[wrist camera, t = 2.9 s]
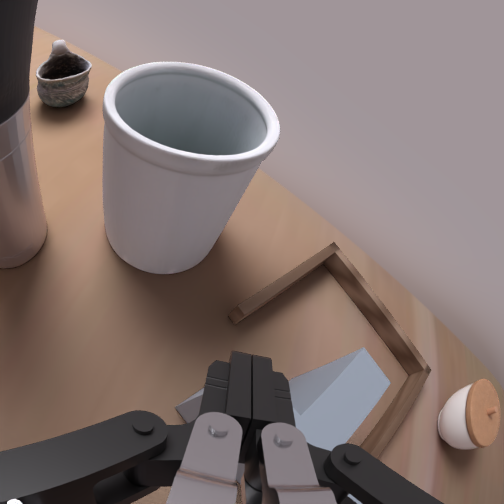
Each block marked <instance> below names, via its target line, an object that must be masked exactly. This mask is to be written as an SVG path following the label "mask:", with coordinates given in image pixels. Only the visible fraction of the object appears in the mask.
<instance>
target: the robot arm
mask: <svg viewBox="0 0 504 504" xmlns="http://www.w3.org/2000/svg"><path fill="white" fill-rule="evenodd" d="M37 3H38V0H0V268H13V267H17V266H19V265H22V264H24V263H25V262H27V261H29V260H30V259H31V258H32V257H33V256H35V255H36V253H37V252H38V251H39V250H40V248H41V246H42V245H43V243H44V241H45V237H46V234H47V221H46V217H45V212H44V207H43V202H42V197H41V191H40V186H39V180H38V174H37V168H36V161H35V154H34V146H33V137H32V127H31V116H30V98H29V72H30V62H31V53H32V43H33V31H34V21H35V15H36V9H37ZM238 463H243V464H245V471H244V474H243V476H242V478H241V493H242V504H357V503H356V502H355V501H353V500H352V499H351V498H350V497H348V495H349V494H351V495H352V496H353V497H354V498H356V499H357V500H358V501H360V502H361V503H362V504H444V503H442V502H440V501H439V500H437V499H436V498H434V497H432V496H431V495H429V494H428V493H426V492H425V491H423V490H422V489H420V488H418V487H417V486H415V485H414V484H412V483H411V482H409V481H408V480H406V479H405V478H403V477H402V476H401V475H399V474H398V473H396V472H395V471H393V470H392V469H390V468H389V467H388V466H386V465H385V464H383V463H382V462H380V461H379V460H378V459H376V458H375V457H374V456H372V455H371V454H369V453H368V452H367V451H365V450H364V449H362V448H361V447H359V446H357V445H354V444H340V445H337V446H336V447H334V448H333V450H332V451H329V450H326V449H322V448H319V447H316V446H313V445H311V444H309V443H308V442H306V438H305V436H304V434H303V433H302V432H301V431H300V430H299V429H297V428H296V424H295V418H294V412H293V406H292V400H291V393H290V387H289V382H288V380H287V379H286V378H285V376H284V375H283V374H282V373H280V372H274V371H273V370H272V360H271V358H267V357H262V356H257V355H252V356H251V354H246V353H242V352H237V351H232V352H231V356H230V360H229V363H227V362H222V361H218V360H216V361H215V362H214V363H212V364H211V365H210V366H209V369H208V373H207V378H206V382H205V387H204V391H203V396H202V401H201V406H200V410H199V415H198V416H197V418H196V419H195V420H193V421H192V422H190V423H187V424H183V425H166V424H165V422H164V421H163V420H162V419H161V418H160V417H159V416H157V415H155V414H153V413H151V412H147V411H131V412H128V413H125V414H123V415H120V416H117V417H115V418H112V419H109V420H106V421H103V422H101V423H98V424H95V425H92V426H89V427H86V428H83V429H80V430H77V431H74V432H71V433H68V434H64V435H61V436H58V437H54V438H51V439H48V440H44V441H41V442H37V443H33V444H30V445H26V446H22V447H18V448H14V449H10V450H6V451H2V452H0V504H130V503H132V502H134V501H136V500H138V499H140V498H142V497H144V496H146V495H148V494H150V493H152V492H154V491H156V490H157V489H158V488H159V487H160V486H172V487H171V490H170V493H169V496H168V499H167V502H166V504H235V503H236V496H237V484H236V483H235V480H236V473H237V466H238Z"/></svg>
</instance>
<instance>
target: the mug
mask: <svg viewBox="0 0 504 504" xmlns="http://www.w3.org/2000/svg"><path fill="white" fill-rule="evenodd" d="M91 67H92V65H91V63H90V62H89V61H87V60H86V59H84V58H83V57H81V56H79V55H77V54H74V53H72V52H71V51H69V49H68V48H67V46H66V43H65V41H64V40H57V41H55V42H53V44H52V52H51V54H50V57H49V59H48V60H47V61H45V62H44V63H42V64H41V65H40V66H39V68H38V69H37V71H36V77H37V79H38V86H37V91H38V95H39V97H40V99H41V100H42V101H43V102H44V103H45V104H47V105H49V106H54V107H64V106H68V105H71V104H73V103H75V102H77V101H78V100H79V99H81V98H82V97H83V96H84V94H85V93H86V90H87V88H88V82H89V78H88V74H89V72H90V69H91Z"/></svg>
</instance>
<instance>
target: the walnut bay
mask: <svg viewBox="0 0 504 504" xmlns="http://www.w3.org/2000/svg"><path fill="white" fill-rule="evenodd" d="M322 264H324V265H325V266H326V268H327V269H328V270H329V271H330V273H331V274H332V275H333V276H334V278H335V279H336V280H337V281H338V283H339V284H340V285H341V286H342V288H343V289H344V290H345V291H346V293H347V294H348V295H349V296H350V298H351V299H352V300H353V302H354V303H355V304H356V305H357V307H358V308H359V309H360V311H361V312H362V313H363V314H364V316H365V317H366V318H367V320H368V321H369V322H370V324H371V325H372V326H373V327H374V329H375V330H376V331H377V333H378V334H379V335H380V337H381V338H382V339H383V341H384V342H385V343H386V345H387V346H388V347H389V349H390V350H391V351H392V353H393V354H394V355H395V357H396V358H397V360H398V361H399V362H400V364H401V365H402V366H403V368H404V369H405V370H406V372H407V373H408V375H409V376H408V378H407V380H406V381H405V383H404V385H403V386H402V388H401V389H400V391H399V392H398V394H397V395H396V397H395V399H394V400H393V402H392V403H391V405H390V406H389V408H388V409H387V410H386V412H385V413H384V415H383V416H382V418H381V419H380V420H379V422H378V423H377V425H376V426H375V427H374V429H373V430H372V431H371V433H370V434H369V435H368V437H367V438H366V439H365V441H364V442H363V443H362V444H361V446H360V447H361V448H362V449H364V450H365V451H367V452H368V453H369V454H371V455H372V456H374V457H375V458H376V459H377V458H378V456H379V455H380V453H381V452H382V451H383V449H384V448H385V446H386V445H387V444H388V442H389V441H390V439H391V438H392V436H393V435H394V433H395V432H396V430H397V429H398V427H399V425H400V424H401V422H402V421H403V419H404V417H405V416H406V414H407V413H408V411H409V409H410V408H411V406H412V404H413V403H414V401H415V399H416V397H417V396H418V394H419V392H420V390H421V388H422V387H423V385H424V383H425V381H426V379H427V377H428V375H429V374H430V372H431V369H430V367H429V366H428V365H427V363H426V362H425V360H424V359H423V357H422V356H421V354H420V353H419V352H418V350H417V349H416V347H415V346H414V345H413V343H412V342H411V340H410V339H409V338H408V336H407V335H406V334H405V332H404V331H403V329H402V328H401V327H400V325H399V324H398V323H397V321H396V320H395V319H394V317H393V316H392V315H391V313H390V312H389V311H388V309H387V308H386V307H385V305H384V304H383V303H382V301H381V300H380V299H379V297H378V296H377V295H376V294H375V292H374V291H373V290H372V288H371V287H370V286H369V285H368V283H367V282H366V281H365V279H364V278H363V277H362V276H361V274H360V273H359V272H358V271H357V269H356V268H355V267H354V266H353V264H352V263H351V262H350V261H349V260H348V258H347V257H346V256H345V255H344V253H343V252H342V251H341V250H340V249H339V247H338V246H337V245H336V244H335V242H333V243H332V244H330V245H329V246H327V247H326V248H324V249H323V250H321V251H320V252H319V253H317V254H316V255H314V256H313V257H311V258H310V259H308V260H307V261H305V262H304V263H302V264H301V265H299V266H298V267H296V268H295V269H293V270H291V271H290V272H288V273H287V274H285V275H284V276H282V277H281V278H279V279H278V280H276V281H275V282H273V283H272V284H270V285H269V286H267V287H265V288H264V289H262V290H261V291H259V292H258V293H256V294H255V295H253V296H251V297H250V298H248V299H247V300H245V301H244V302H242V303H240V304H239V305H237V307H236V308H235V309H234V310H233V311H232V312H231V313H230V314H229V318H230V319H231V320H232V322H233V323H234V324H237V323H238V322H240V321H241V320H243V319H244V318H246V317H247V316H249V315H250V314H252V313H253V312H255V311H256V310H258V309H259V308H261V307H262V306H264V305H265V304H266V303H268V302H269V301H271V300H272V299H274V298H275V297H277V296H278V295H279V294H281V293H282V292H284V291H285V290H287V289H288V288H289V287H291V286H292V285H294V284H295V283H297V282H298V281H299V280H301V279H302V278H304V277H305V276H306V275H308V274H309V273H311V272H312V271H313V270H315V269H316V268H317V267H319V266H320V265H322Z"/></svg>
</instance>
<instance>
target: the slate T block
mask: <svg viewBox="0 0 504 504" xmlns="http://www.w3.org/2000/svg"><path fill="white" fill-rule="evenodd" d="M390 383H391V382H390V381H389V380H388V378H387V377H386V376H385V374H384V373H383V372H382V370H381V369H380V368H379V366H378V365H377V364H376V363H375V361H374V360H373V359H372V357H371V356H370V355H369V353H368V352H367V351H366V349H365V348H364V347H363V348H361V349H359V350H357V351H355V352H353V353H351V354H348V355H346V356H344V357H342V358H340V359H337V360H335V361H333V362H331V363H328V364H326V365H324V366H321V367H319V368H317V369H314V370H312V371H309V372H307V373H304V374H302V375H300V376H297V377H294V378H292V379H291V380H290V381H289V387H290V393H291V400H292V406H293V412H294V418H295V424H296V428H297V429H299V430H300V431H301V432H302V433H303V434H304V436H305V438H306V442H308V443H309V444H311V445H313V446H316V447H319V448H322V449H326V450H329V451H332V450H333V448H334V447H336V446H337V445H340V444H345V443H346V442H347V440H348V439H349V438H350V437H351V435H352V434H353V433H354V432H355V431H356V429H357V428H358V427H359V426H360V424H361V423H362V422H363V420H364V419H365V418H366V417H367V415H368V414H369V413H370V411H371V410H372V409H373V407H374V406H375V405H376V403H377V402H378V400H379V399H380V398H381V396H382V395H383V393H384V392H385V391H386V389H387V388H388V386H389V385H390ZM203 391H204V388H202V389H201V390H199V391H198V392H196V393H195V394H194V395H192V396H191V397H189V398H188V399H186V400H185V401H183V402H182V403H180V404H179V405H177V406H176V407H175V408H176V409H177V411H178V412H179V413H180V415H181V416H182V417H183V418H184V420H185V421H186V422H187V423H190V422H192V421H193V420H195V419H196V418H197V416H198V415H199V410H200V406H201V401H202V396H203ZM244 471H245V464H243V463H238V466H237V473H236V480H237V481H238V482H239V483H240V484H241V478H242V476H243V474H244ZM348 497H350V498H351V499H352V500H353V501H355V502H356V503H357V504H362V503H361V502H360V501H358V500H357V499H356V498H354V497H353V496H352V495H351V494H349V495H348Z"/></svg>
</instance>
